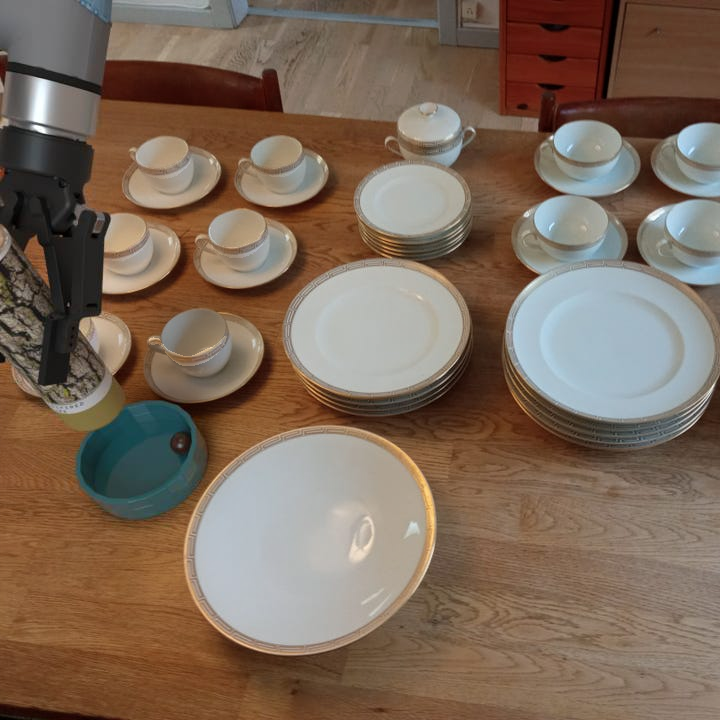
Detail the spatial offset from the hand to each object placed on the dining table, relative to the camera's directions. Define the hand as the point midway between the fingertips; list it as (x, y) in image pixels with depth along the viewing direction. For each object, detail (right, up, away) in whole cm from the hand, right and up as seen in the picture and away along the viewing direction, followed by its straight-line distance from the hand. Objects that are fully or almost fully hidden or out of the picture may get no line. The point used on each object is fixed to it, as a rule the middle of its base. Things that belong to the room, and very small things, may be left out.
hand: (20, 372), depth 71 cm
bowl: (+3, -12, +21) cm, 25 cm away
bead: (+7, -9, +21) cm, 24 cm away
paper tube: (+1, -4, +11) cm, 12 cm away
